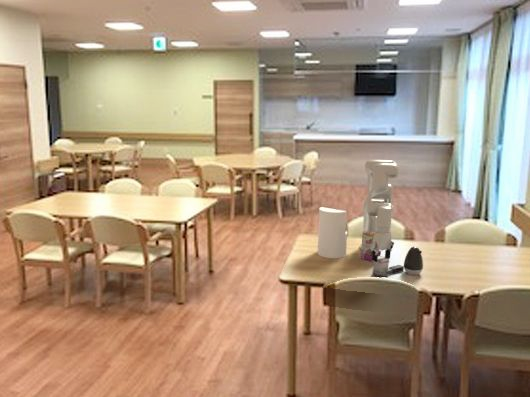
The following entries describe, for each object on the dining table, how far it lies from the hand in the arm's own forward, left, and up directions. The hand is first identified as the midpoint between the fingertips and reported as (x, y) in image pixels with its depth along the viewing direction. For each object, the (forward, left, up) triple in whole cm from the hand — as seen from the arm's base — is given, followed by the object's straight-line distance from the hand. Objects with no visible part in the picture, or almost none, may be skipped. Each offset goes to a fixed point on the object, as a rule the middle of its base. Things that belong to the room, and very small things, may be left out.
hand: (381, 259), depth 270 cm
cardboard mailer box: (0, 0, -6) cm, 6 cm away
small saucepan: (-6, +1, -9) cm, 11 cm away
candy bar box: (-15, -21, -9) cm, 28 cm away
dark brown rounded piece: (-18, +8, -9) cm, 21 cm away
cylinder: (-2, -41, -9) cm, 43 cm away
